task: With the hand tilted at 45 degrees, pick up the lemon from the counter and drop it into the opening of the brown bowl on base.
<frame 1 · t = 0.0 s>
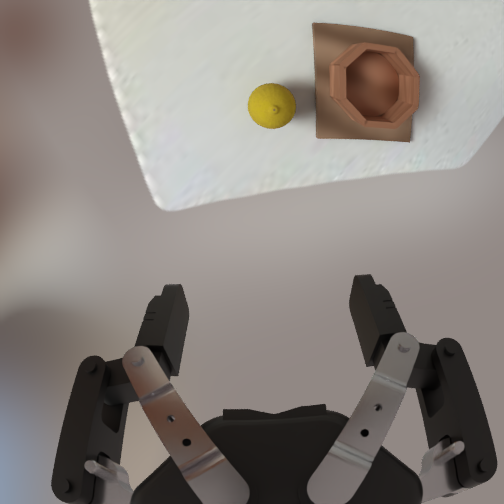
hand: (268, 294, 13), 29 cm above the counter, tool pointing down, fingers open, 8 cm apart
brown bowl on base: (365, 82, 32), on the counter
lemon: (269, 101, 35), on the counter
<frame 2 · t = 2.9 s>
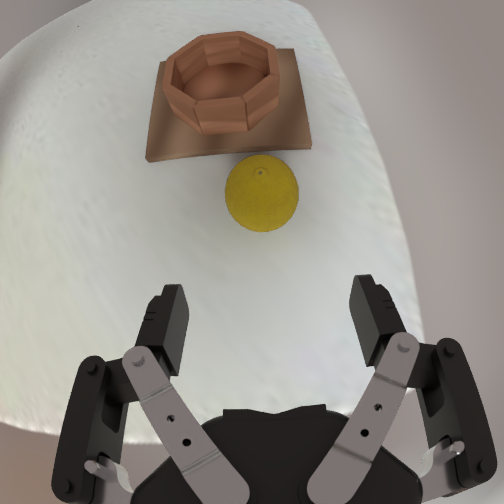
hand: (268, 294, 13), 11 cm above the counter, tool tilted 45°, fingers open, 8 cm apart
brown bowl on base: (226, 98, 28), on the counter
lemon: (262, 211, 26), on the counter
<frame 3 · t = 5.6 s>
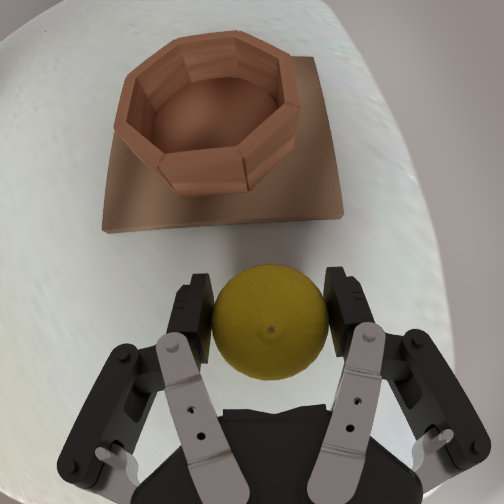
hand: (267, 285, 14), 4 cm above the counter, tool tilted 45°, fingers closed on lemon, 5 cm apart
brown bowl on base: (216, 132, 20), on the counter
lemon: (268, 317, 18), on the counter, touching gripper
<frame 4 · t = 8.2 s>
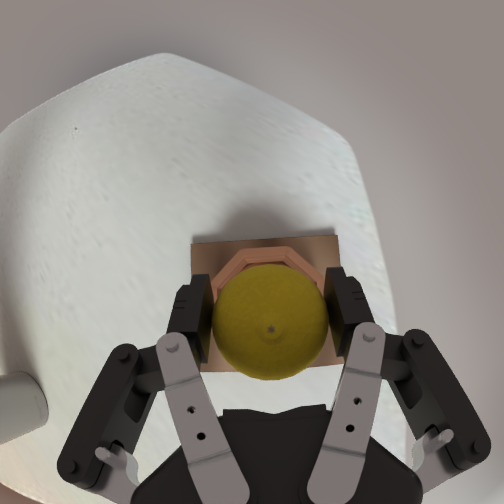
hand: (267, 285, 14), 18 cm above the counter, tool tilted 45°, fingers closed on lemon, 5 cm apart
brown bowl on base: (268, 305, 31), on the counter
lemon: (268, 317, 18), point 13 cm above the counter, touching gripper
when the fingers open (8 cm above the counter, at t = 11.0 s): lemon drops 2 cm, resting on brown bowl on base.
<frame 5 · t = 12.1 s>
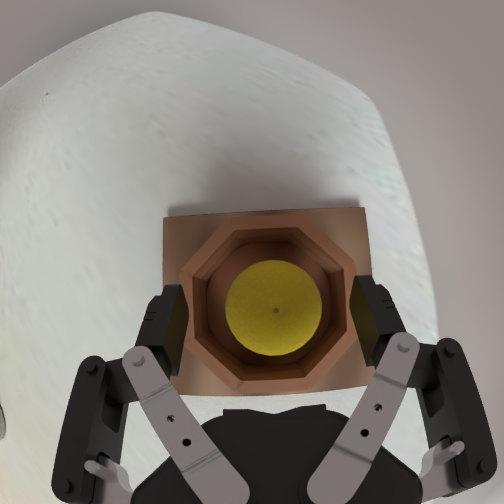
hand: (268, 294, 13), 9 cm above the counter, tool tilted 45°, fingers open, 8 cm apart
brown bowl on base: (269, 303, 22), on the counter
lemon: (270, 306, 21), point 1 cm above the counter, touching brown bowl on base
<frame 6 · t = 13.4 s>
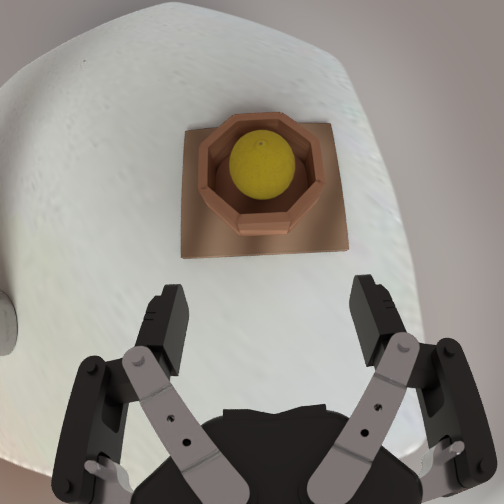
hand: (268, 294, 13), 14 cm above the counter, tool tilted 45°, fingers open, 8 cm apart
brown bowl on base: (261, 186, 30), on the counter
lemon: (262, 183, 28), point 1 cm above the counter, touching brown bowl on base
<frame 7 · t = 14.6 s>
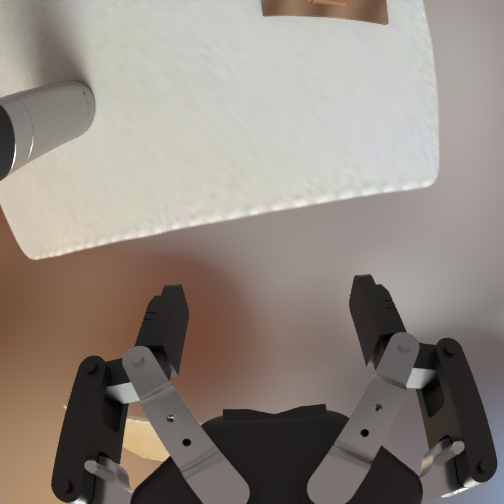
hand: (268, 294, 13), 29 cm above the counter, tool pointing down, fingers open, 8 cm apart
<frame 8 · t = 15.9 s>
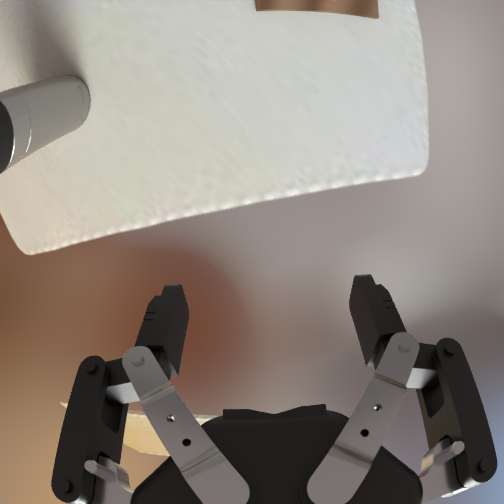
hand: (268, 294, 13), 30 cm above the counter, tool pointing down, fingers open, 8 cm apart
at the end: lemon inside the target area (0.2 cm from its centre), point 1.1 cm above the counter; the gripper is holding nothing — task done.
